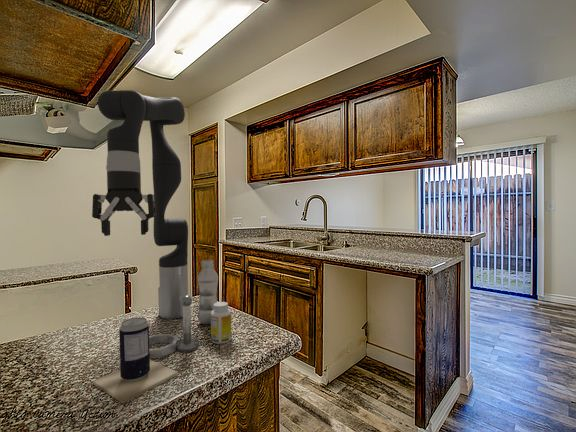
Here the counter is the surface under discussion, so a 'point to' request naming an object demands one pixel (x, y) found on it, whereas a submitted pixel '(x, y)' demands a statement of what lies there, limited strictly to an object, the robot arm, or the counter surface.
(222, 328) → the supplement bottle
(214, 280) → the plastic bottle
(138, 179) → the robot arm
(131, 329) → the beverage can
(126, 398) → the birch board
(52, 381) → the counter surface
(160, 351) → the steel ring stand
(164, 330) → the counter surface
